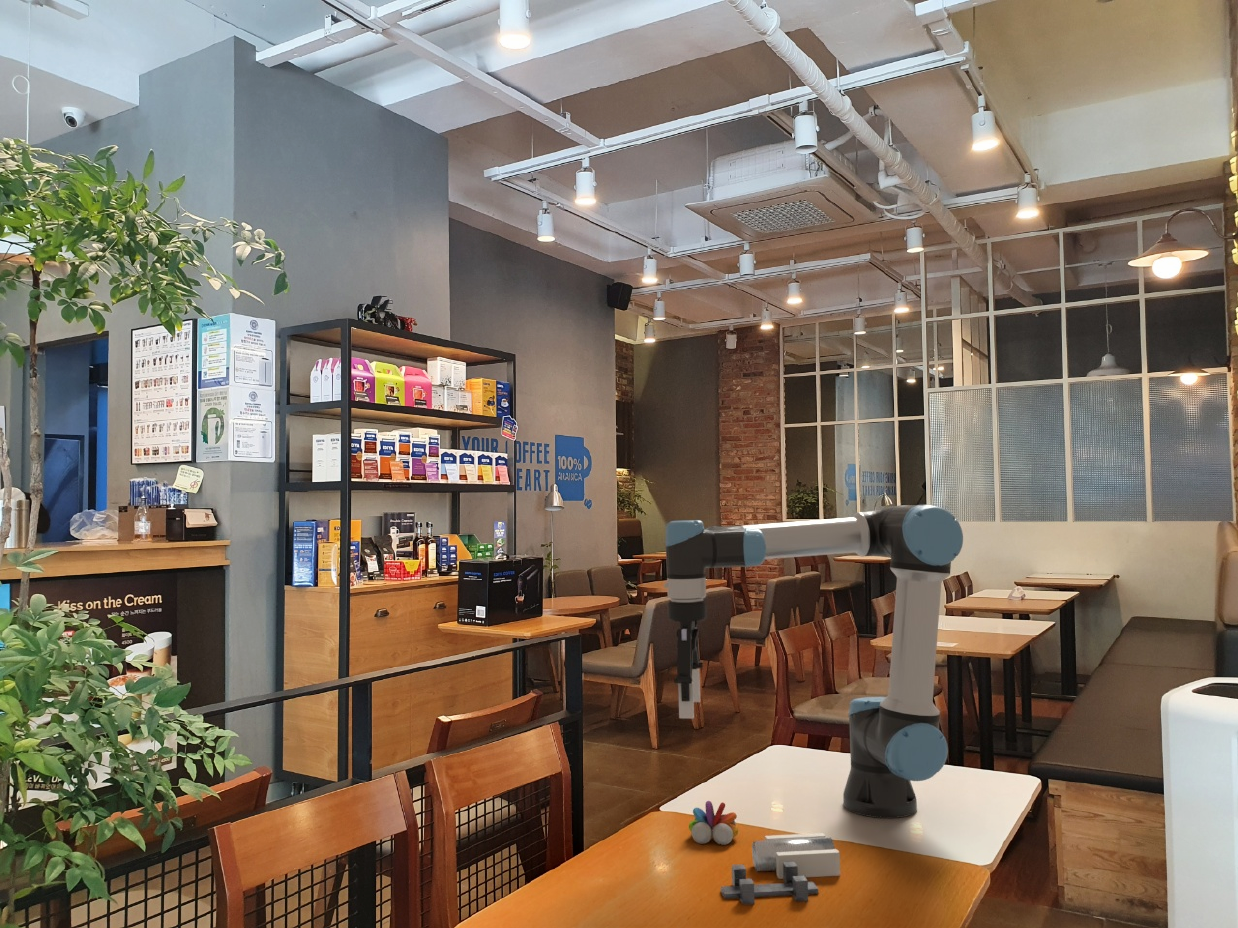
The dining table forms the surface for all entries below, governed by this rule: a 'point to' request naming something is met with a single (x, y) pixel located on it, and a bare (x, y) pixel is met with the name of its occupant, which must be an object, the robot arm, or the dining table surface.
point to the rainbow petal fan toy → (713, 825)
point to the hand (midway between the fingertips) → (690, 709)
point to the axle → (784, 850)
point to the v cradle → (768, 885)
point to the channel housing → (808, 858)
